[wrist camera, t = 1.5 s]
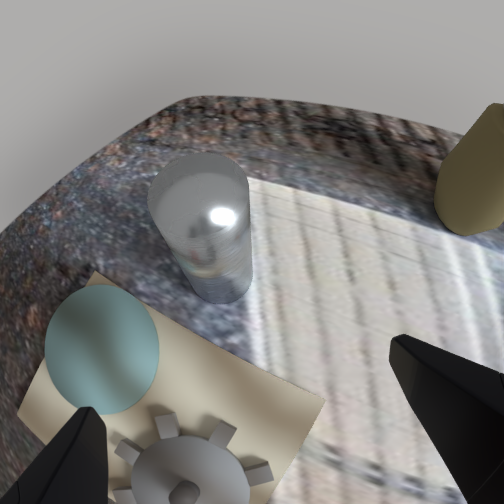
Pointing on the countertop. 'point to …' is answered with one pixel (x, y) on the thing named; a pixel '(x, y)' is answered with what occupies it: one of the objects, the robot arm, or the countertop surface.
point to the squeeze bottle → (474, 177)
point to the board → (166, 403)
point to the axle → (206, 223)
